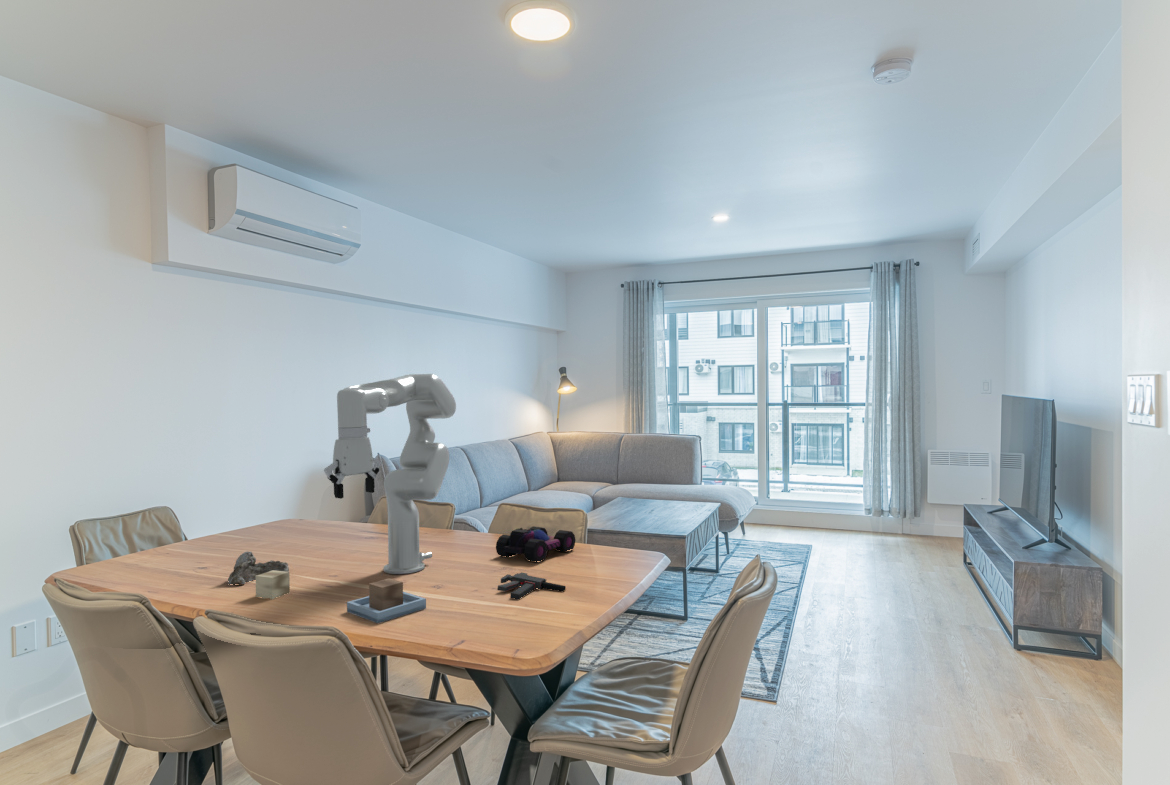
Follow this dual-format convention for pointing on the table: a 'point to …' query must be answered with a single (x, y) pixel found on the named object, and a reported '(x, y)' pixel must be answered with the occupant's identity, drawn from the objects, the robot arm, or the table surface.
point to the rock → (252, 568)
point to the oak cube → (272, 584)
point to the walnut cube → (385, 594)
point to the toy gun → (525, 584)
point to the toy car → (534, 543)
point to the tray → (363, 610)
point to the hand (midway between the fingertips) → (354, 495)
